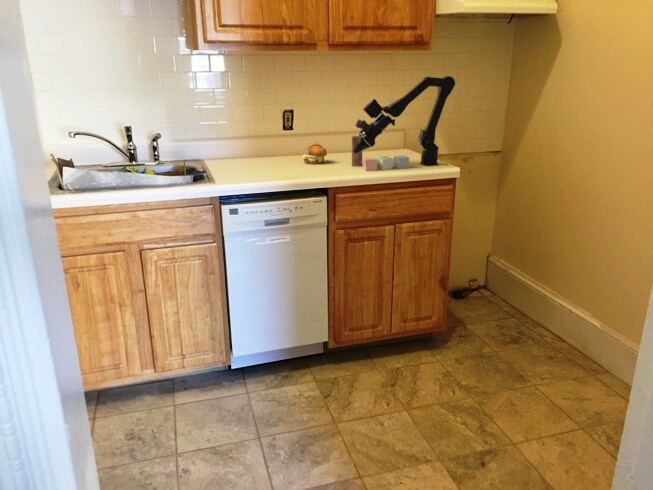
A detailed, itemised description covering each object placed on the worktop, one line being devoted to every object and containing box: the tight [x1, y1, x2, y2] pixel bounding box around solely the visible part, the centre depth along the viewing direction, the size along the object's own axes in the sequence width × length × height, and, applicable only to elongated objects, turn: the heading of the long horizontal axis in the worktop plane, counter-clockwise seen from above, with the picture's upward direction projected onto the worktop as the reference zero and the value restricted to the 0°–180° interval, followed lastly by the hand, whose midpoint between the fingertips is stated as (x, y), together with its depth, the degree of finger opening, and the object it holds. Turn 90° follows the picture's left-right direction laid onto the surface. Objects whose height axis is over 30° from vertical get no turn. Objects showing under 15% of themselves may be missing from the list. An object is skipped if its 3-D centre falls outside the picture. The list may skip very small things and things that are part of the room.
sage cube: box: [376, 155, 394, 171], centre depth 242 cm, size 5×5×5 cm
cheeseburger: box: [302, 142, 328, 165], centre depth 257 cm, size 10×11×10 cm
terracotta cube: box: [362, 156, 378, 172], centre depth 240 cm, size 5×5×5 cm
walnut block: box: [351, 135, 363, 167], centre depth 248 cm, size 4×4×13 cm
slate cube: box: [393, 154, 410, 170], centre depth 244 cm, size 5×5×5 cm
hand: (353, 150), depth 248 cm, fingers open, 7 cm apart
